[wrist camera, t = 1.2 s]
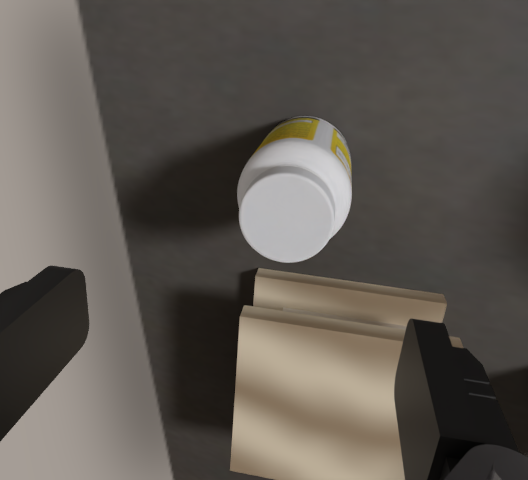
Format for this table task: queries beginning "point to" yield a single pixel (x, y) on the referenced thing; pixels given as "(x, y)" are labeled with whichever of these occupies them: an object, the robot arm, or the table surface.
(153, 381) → the table surface
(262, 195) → the supplement bottle
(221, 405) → the table surface
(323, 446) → the wooden pedestal stand
